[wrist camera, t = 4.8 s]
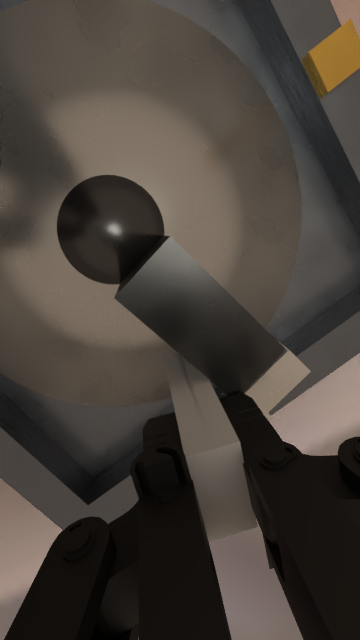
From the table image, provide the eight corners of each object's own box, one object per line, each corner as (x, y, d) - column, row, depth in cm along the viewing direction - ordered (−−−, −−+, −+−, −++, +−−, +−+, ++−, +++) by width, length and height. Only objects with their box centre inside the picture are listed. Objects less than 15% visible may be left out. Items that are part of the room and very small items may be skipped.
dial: (-163, 239, 14) (-406, 244, 8) (93, -100, 12) (42, -453, 6) (133, 449, 18) (129, 558, 12) (354, 226, 16) (481, 221, 10)
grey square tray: (-250, 175, 15) (-417, 149, 10) (163, -187, 13) (174, -396, 9) (94, 491, 21) (81, 558, 17) (394, 275, 20) (467, 287, 15)
